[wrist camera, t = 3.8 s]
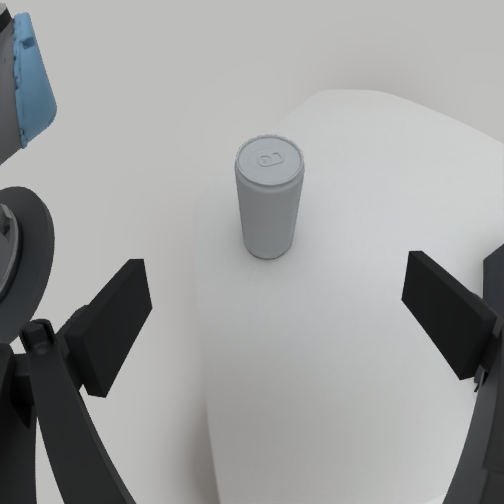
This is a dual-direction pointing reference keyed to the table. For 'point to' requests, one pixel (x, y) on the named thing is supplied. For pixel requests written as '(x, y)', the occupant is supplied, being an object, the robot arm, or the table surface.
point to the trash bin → (493, 288)
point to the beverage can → (269, 193)
